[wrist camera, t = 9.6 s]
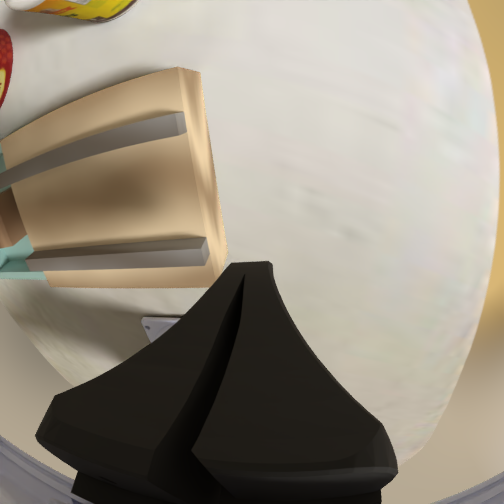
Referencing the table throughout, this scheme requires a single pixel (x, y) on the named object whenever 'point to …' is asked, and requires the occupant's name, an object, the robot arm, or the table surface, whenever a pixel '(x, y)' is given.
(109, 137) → the slot deck
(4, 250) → the tray
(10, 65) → the canned food
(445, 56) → the table surface
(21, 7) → the supplement bottle
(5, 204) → the brown block
